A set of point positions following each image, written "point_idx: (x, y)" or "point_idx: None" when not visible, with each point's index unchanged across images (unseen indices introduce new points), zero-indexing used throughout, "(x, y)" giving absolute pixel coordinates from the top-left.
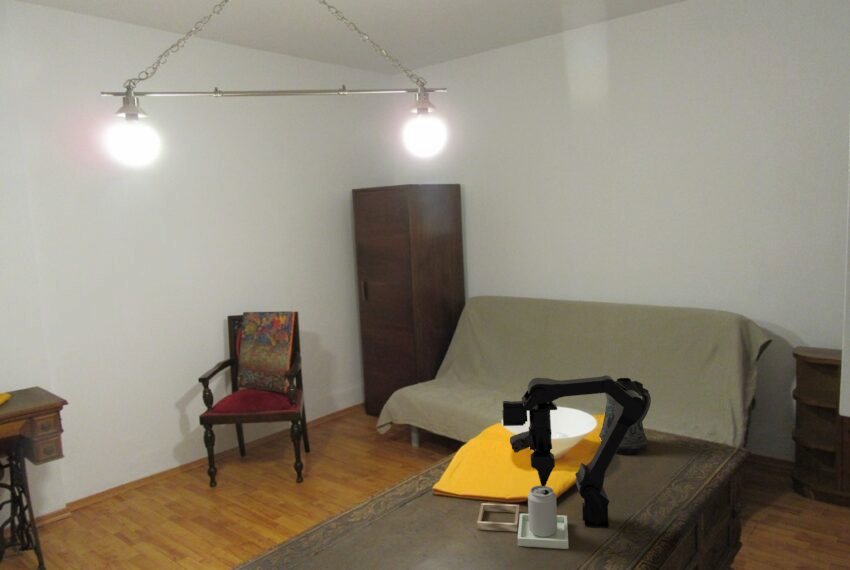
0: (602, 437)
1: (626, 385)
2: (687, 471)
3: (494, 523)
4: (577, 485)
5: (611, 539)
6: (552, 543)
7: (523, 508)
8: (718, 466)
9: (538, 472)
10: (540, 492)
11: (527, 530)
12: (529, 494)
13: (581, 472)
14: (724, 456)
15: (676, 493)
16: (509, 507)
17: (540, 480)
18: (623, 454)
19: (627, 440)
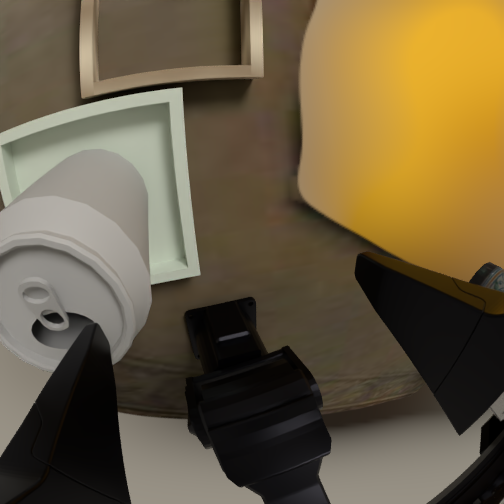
0: (494, 279)
1: None
2: (392, 380)
3: (81, 7)
4: (252, 390)
5: (143, 365)
6: None
7: (278, 93)
8: (392, 396)
9: (13, 447)
10: (34, 309)
11: (88, 139)
12: (15, 219)
13: (278, 447)
14: (409, 391)
15: (339, 394)
16: (247, 38)
17: (60, 366)
18: None
19: None
